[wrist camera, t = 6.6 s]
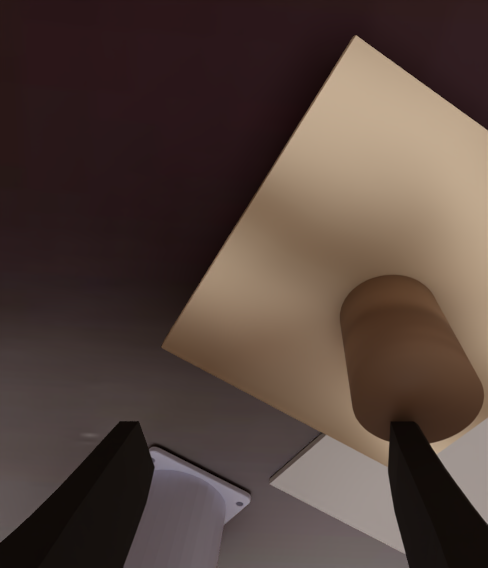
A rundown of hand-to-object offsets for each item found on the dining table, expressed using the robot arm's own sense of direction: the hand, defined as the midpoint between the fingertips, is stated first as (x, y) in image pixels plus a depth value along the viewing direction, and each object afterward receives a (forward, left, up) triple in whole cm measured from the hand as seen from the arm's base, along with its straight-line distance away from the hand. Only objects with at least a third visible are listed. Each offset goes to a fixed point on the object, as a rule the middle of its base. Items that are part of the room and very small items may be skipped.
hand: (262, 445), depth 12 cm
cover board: (+4, -2, -5) cm, 6 cm away
